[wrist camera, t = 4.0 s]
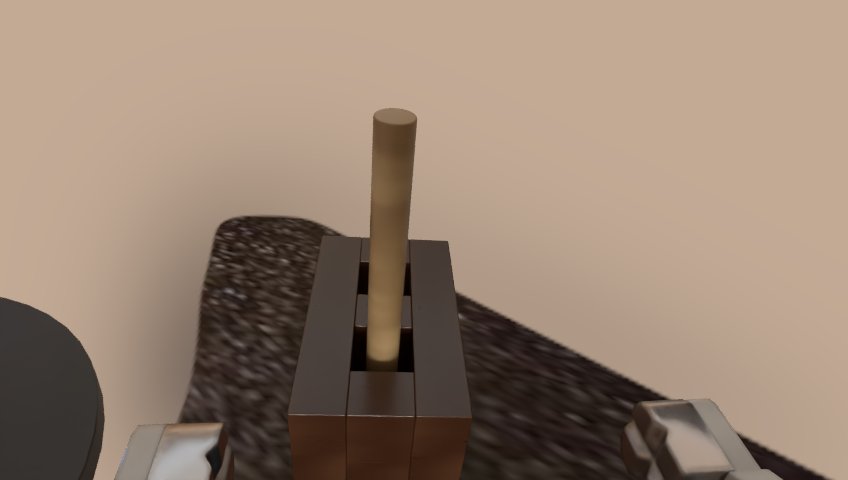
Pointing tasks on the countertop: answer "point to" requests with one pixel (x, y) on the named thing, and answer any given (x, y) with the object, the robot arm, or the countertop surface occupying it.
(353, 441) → the utensil block
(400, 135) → the stirring stick
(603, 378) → the countertop surface
